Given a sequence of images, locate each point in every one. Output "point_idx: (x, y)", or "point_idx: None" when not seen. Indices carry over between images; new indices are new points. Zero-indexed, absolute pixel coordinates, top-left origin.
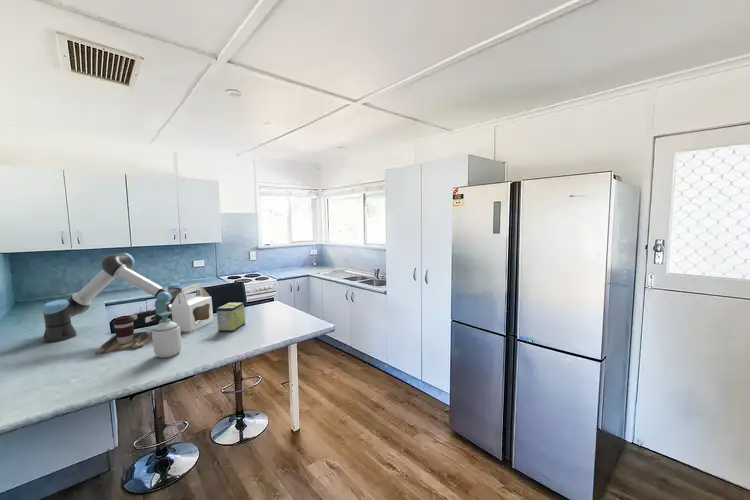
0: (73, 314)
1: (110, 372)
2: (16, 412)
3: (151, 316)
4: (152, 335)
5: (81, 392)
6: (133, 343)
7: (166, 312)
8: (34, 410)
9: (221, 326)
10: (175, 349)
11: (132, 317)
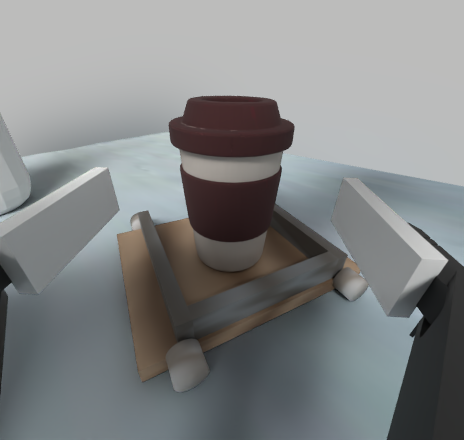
0: None
1: (127, 165)
2: None
3: (44, 198)
4: (2, 118)
5: (134, 146)
6: (172, 240)
7: None
8: (163, 136)
9: None
10: None
11: (208, 132)
